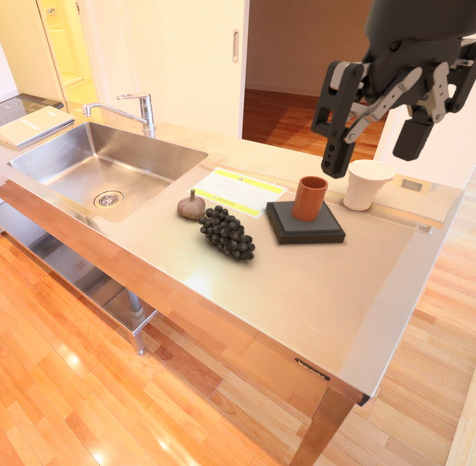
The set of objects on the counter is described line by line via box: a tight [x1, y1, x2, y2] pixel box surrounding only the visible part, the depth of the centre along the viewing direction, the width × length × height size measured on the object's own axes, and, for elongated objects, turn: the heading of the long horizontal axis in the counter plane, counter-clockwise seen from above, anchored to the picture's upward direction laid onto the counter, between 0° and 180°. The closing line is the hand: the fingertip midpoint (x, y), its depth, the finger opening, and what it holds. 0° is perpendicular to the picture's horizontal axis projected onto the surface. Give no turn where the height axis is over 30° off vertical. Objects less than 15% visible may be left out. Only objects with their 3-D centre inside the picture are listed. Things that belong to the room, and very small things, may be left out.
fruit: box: [197, 204, 256, 261], centre depth 70 cm, size 9×8×15 cm
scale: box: [265, 199, 347, 245], centre depth 74 cm, size 13×13×3 cm
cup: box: [342, 159, 396, 212], centre depth 75 cm, size 9×9×10 cm
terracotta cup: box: [291, 175, 329, 222], centre depth 70 cm, size 5×5×8 cm
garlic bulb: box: [176, 188, 206, 220], centre depth 81 cm, size 8×7×8 cm
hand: (368, 166), depth 32 cm, fingers open, 8 cm apart
